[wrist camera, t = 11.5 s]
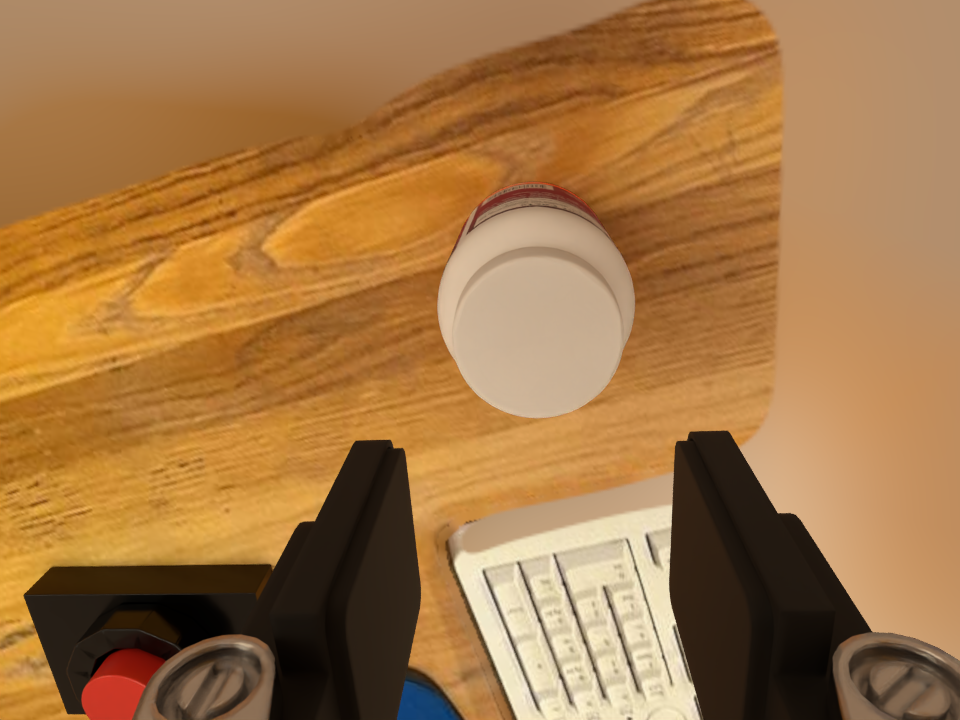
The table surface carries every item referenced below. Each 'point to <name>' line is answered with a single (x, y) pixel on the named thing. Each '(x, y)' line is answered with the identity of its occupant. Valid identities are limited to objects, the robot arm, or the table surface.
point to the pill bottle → (535, 301)
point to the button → (119, 684)
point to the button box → (135, 613)
